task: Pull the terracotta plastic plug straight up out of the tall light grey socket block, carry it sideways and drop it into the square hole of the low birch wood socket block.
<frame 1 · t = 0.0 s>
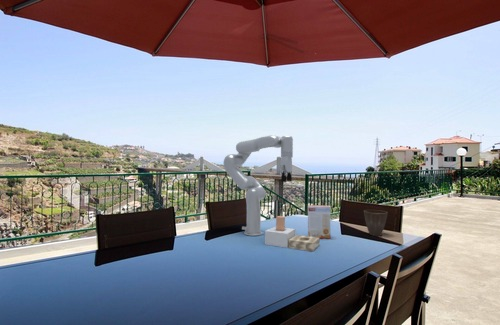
hand: (286, 181, 188), 37 cm above the table, tool pointing down, fingers open, 9 cm apart
cracker box: (318, 237, 190), on the table
lower socket: (304, 246, 169), on the table
upper socket: (280, 243, 176), on the table
plant pot: (375, 235, 199), on the table
plug: (280, 236, 176), point 4 cm above the table, touching upper socket
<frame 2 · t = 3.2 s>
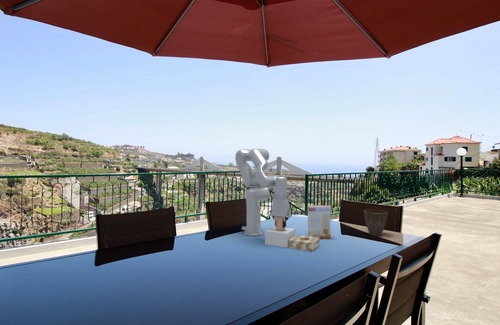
hand: (280, 226, 176), 10 cm above the table, tool pointing down, fingers closed on plug, 4 cm apart
plug: (280, 236, 176), point 4 cm above the table, touching gripper, upper socket
everything else where it was.
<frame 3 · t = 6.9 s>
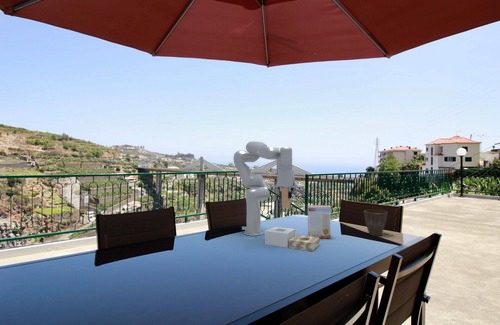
hand: (286, 197, 174), 28 cm above the table, tool pointing down, fingers closed on plug, 4 cm apart
plug: (286, 207, 174), point 22 cm above the table, touching gripper
everything else where it was.
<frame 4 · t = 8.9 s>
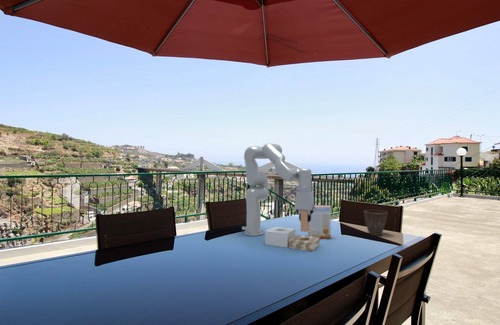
hand: (305, 221, 169), 15 cm above the table, tool pointing down, fingers closed on plug, 4 cm apart
plug: (305, 231, 169), point 9 cm above the table, touching gripper
everything else where it was.
when the fingers open (8 cm above the table, at t = 10.7 s): plug drops 1 cm, resting on lower socket.
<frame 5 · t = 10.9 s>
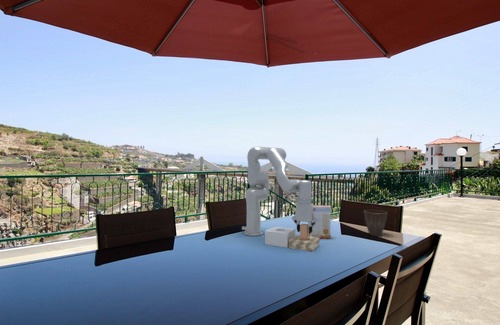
hand: (304, 232, 169), 8 cm above the table, tool pointing down, fingers open, 6 cm apart
plug: (304, 245, 169), point 1 cm above the table, touching lower socket
everything else where it was.
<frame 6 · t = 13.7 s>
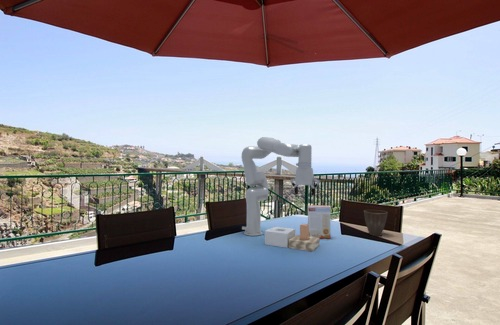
hand: (304, 194, 169), 30 cm above the table, tool pointing down, fingers open, 9 cm apart
nothing on the table moved.
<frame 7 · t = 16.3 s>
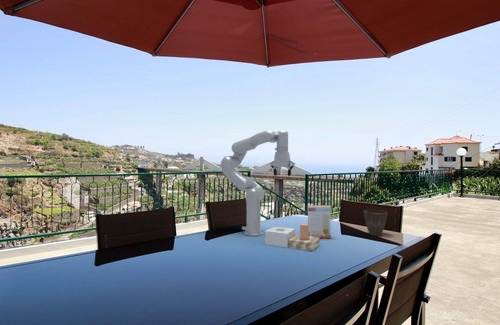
hand: (282, 175, 192), 40 cm above the table, tool pointing down, fingers open, 9 cm apart
nothing on the table moved.
at the end: plug 0.1 cm off-centre on the lower socket, point 0.8 cm above the lower socket's base; plug tilted 0°; the gripper is holding nothing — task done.
